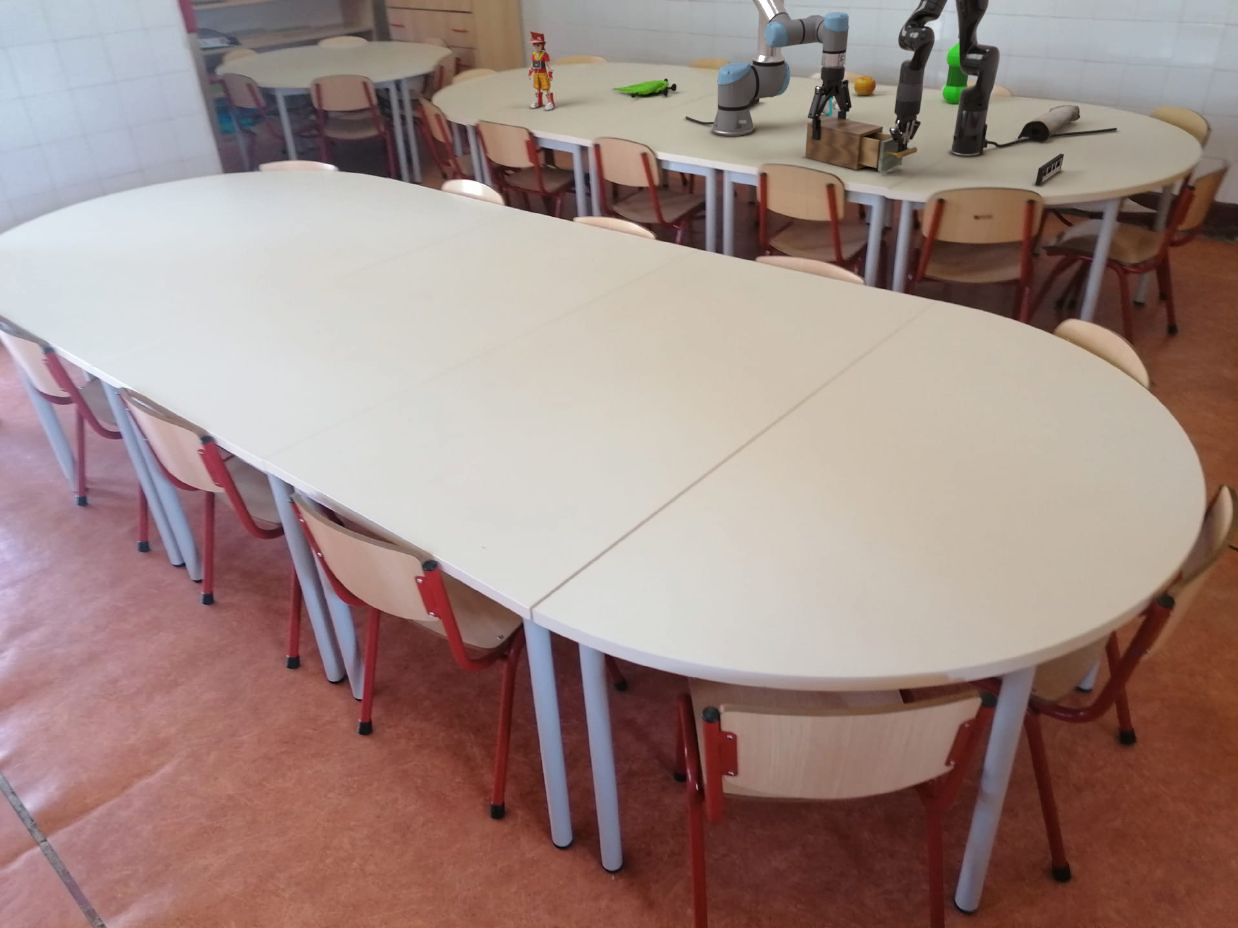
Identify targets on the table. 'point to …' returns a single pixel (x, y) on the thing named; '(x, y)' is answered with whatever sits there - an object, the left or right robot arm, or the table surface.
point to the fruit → (864, 85)
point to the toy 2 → (648, 88)
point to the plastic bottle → (954, 77)
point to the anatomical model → (831, 109)
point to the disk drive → (753, 102)
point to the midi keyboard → (1049, 169)
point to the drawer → (881, 151)
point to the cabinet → (839, 141)
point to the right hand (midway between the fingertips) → (901, 155)
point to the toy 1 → (541, 71)
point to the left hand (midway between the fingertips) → (828, 135)
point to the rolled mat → (1049, 122)
